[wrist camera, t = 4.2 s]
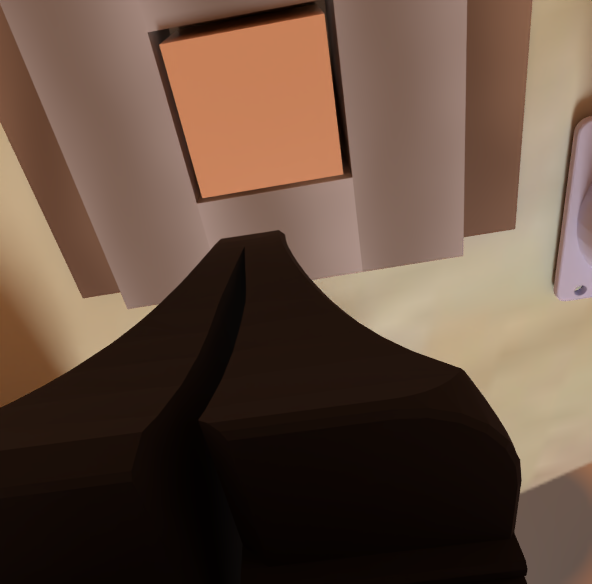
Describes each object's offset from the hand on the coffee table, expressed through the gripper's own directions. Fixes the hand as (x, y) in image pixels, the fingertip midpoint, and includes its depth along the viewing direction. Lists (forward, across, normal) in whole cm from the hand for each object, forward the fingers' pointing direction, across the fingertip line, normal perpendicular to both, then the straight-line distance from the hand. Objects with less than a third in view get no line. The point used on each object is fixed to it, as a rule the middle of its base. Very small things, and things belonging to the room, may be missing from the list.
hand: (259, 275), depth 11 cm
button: (+9, 0, -2) cm, 9 cm away
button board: (+10, 0, -2) cm, 10 cm away
